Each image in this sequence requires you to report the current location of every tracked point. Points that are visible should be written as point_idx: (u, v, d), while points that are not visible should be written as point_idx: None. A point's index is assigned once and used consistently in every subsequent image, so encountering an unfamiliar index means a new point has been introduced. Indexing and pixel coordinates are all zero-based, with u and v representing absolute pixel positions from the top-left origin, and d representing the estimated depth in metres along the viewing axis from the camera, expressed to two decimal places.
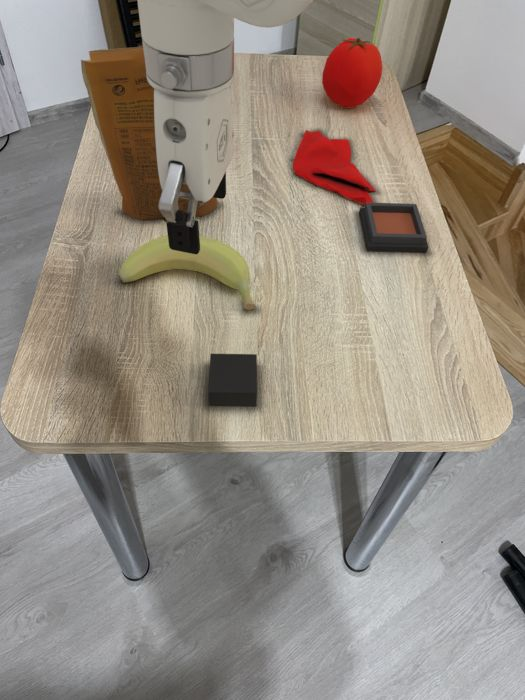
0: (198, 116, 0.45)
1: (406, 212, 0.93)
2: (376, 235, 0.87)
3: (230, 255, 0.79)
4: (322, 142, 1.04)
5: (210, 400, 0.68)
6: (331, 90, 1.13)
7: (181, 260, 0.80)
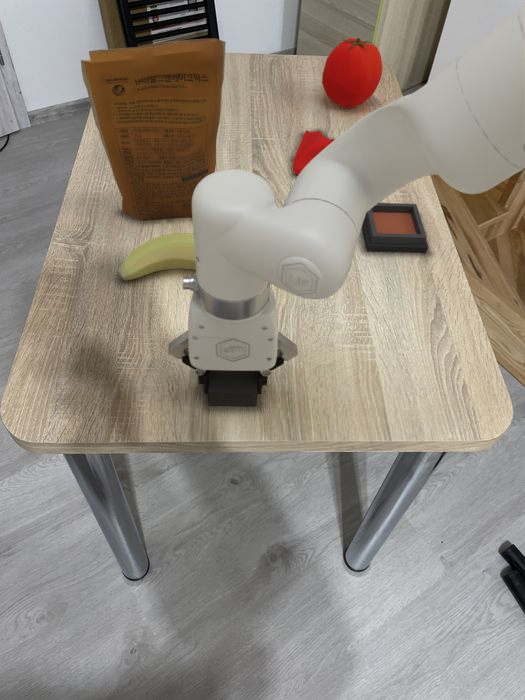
0: (192, 316, 0.57)
1: (406, 212, 0.93)
2: (376, 235, 0.87)
3: None
4: (322, 142, 1.04)
5: (210, 400, 0.68)
6: (331, 90, 1.13)
7: (181, 259, 0.80)
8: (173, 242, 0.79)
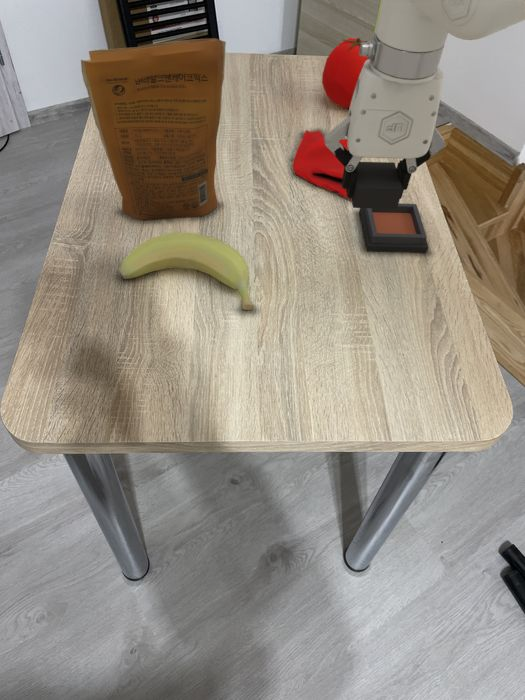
0: (365, 85, 0.60)
1: (406, 212, 0.93)
2: (376, 235, 0.87)
3: (230, 255, 0.79)
4: (322, 142, 1.04)
5: (356, 199, 0.71)
6: (331, 90, 1.13)
7: (181, 259, 0.80)
8: (174, 242, 0.80)
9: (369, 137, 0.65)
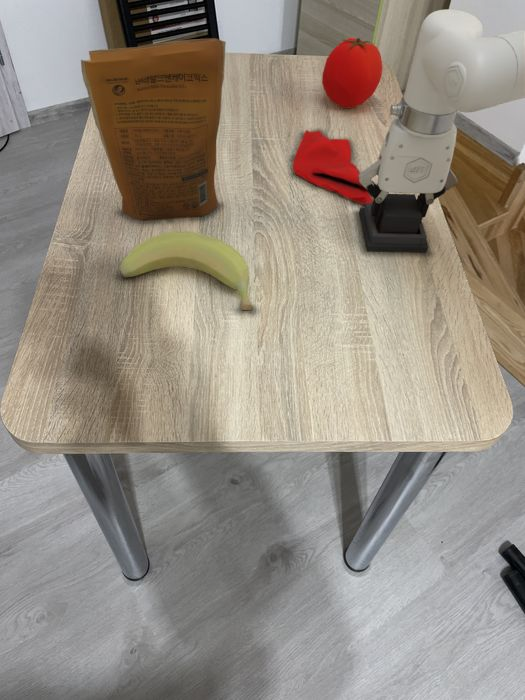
0: (394, 137, 0.75)
1: None
2: (376, 235, 0.87)
3: (230, 254, 0.79)
4: (322, 142, 1.04)
5: (383, 225, 0.86)
6: (331, 90, 1.13)
7: (181, 258, 0.80)
8: (174, 241, 0.80)
9: (396, 177, 0.80)
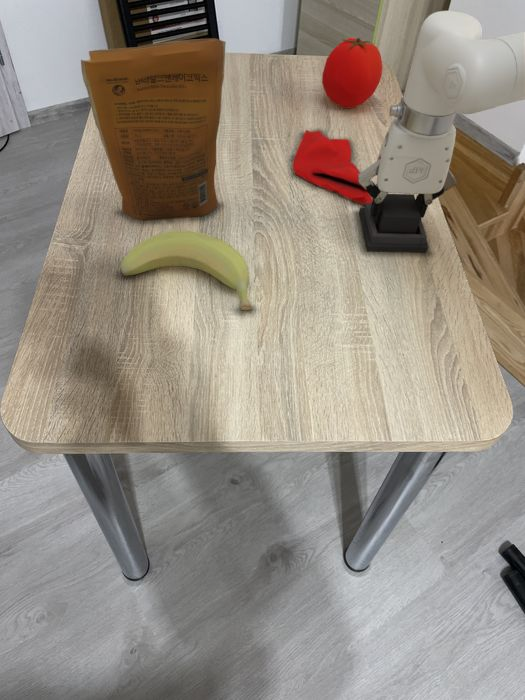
0: (394, 138, 0.76)
1: None
2: (376, 235, 0.87)
3: (230, 254, 0.79)
4: (322, 142, 1.04)
5: (382, 225, 0.87)
6: (331, 90, 1.13)
7: (181, 257, 0.80)
8: (174, 240, 0.80)
9: (395, 177, 0.80)
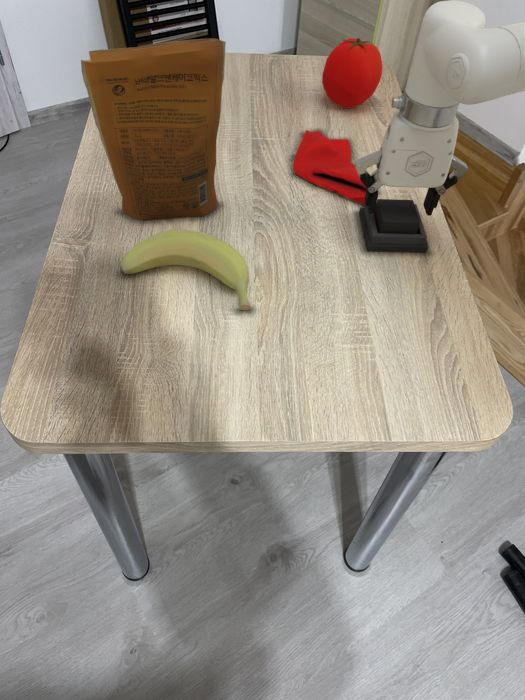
0: (396, 130, 0.75)
1: None
2: (376, 235, 0.87)
3: (230, 254, 0.79)
4: (322, 142, 1.04)
5: (381, 231, 0.87)
6: (331, 90, 1.13)
7: (182, 256, 0.80)
8: (175, 239, 0.80)
9: (397, 171, 0.79)
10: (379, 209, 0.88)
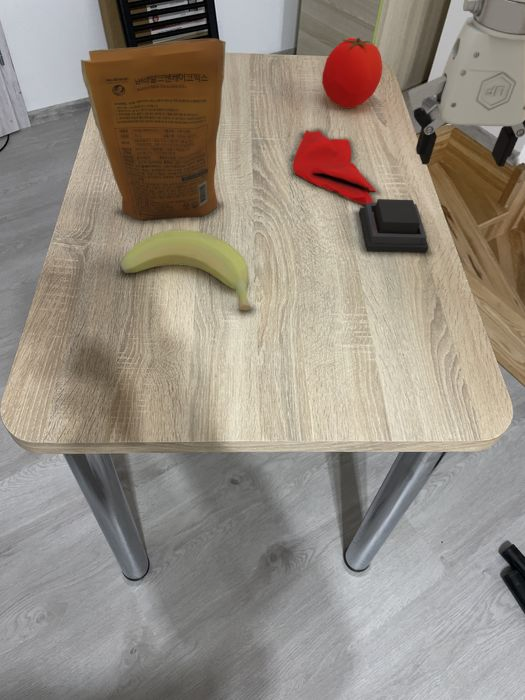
0: (469, 42, 0.56)
1: None
2: (376, 235, 0.87)
3: (230, 254, 0.79)
4: (322, 142, 1.04)
5: (381, 231, 0.87)
6: (331, 90, 1.13)
7: (182, 256, 0.81)
8: (175, 239, 0.80)
9: (466, 101, 0.60)
10: (379, 209, 0.88)
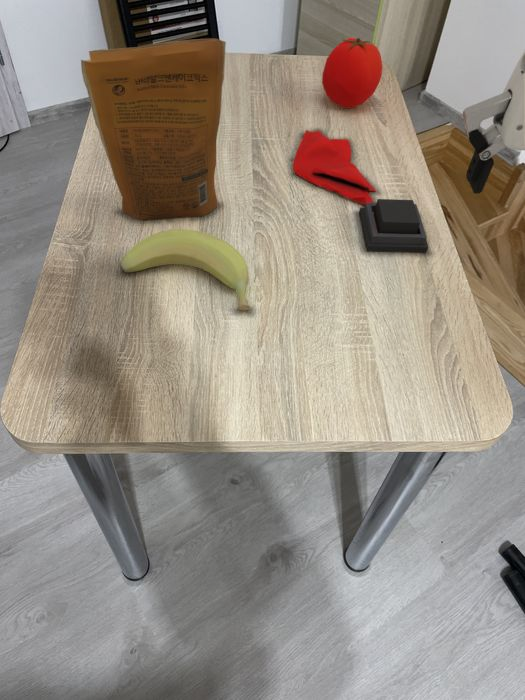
0: None
1: None
2: (376, 235, 0.87)
3: (230, 254, 0.79)
4: (322, 142, 1.04)
5: (381, 231, 0.87)
6: (331, 90, 1.13)
7: (182, 256, 0.81)
8: (176, 238, 0.80)
9: None
10: (379, 209, 0.88)
